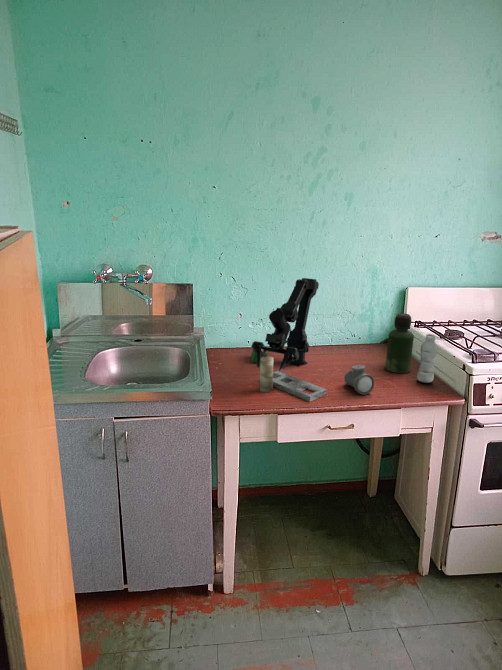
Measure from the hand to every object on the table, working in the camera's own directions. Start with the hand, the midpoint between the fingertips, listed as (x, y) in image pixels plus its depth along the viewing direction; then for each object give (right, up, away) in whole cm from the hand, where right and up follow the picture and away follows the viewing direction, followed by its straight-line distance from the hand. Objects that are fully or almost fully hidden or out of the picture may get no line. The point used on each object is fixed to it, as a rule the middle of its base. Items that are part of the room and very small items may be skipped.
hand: (268, 369), depth 185 cm
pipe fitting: (+35, -8, +3) cm, 36 cm away
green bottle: (+58, -2, +25) cm, 63 cm away
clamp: (-3, +2, +33) cm, 33 cm away
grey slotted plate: (+10, -7, +3) cm, 13 cm away
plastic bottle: (+65, -6, +12) cm, 67 cm away
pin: (-1, -8, +1) cm, 8 cm away
